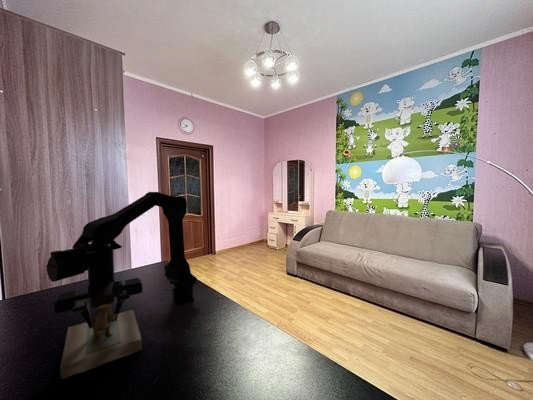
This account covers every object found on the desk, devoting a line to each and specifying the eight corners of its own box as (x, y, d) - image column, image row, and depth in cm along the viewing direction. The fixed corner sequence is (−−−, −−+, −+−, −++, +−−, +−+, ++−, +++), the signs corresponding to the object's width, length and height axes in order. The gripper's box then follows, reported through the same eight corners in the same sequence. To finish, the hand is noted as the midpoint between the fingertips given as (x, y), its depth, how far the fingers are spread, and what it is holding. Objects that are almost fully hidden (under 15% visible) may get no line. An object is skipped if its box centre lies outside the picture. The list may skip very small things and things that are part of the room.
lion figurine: (118, 341, 59) (117, 307, 58) (93, 350, 55) (91, 314, 55) (112, 316, 70) (111, 288, 70) (90, 323, 67) (89, 293, 66)
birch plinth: (133, 318, 75) (133, 308, 75) (141, 349, 60) (141, 338, 60) (68, 337, 65) (68, 326, 65) (60, 380, 51) (60, 366, 51)
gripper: (48, 287, 50) (52, 356, 50) (144, 269, 61) (146, 326, 62) (56, 272, 59) (59, 331, 59) (138, 258, 70) (140, 308, 70)
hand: (103, 323), depth 62 cm, fingers open, 5 cm apart
